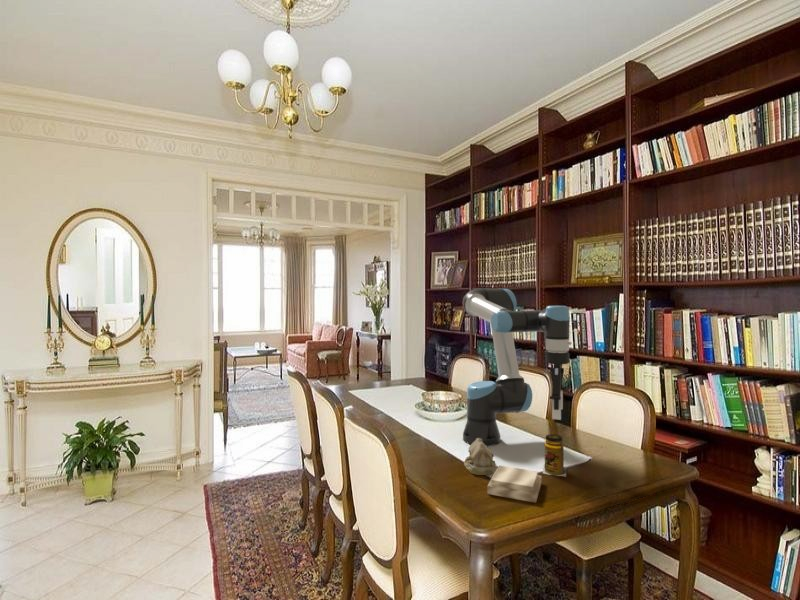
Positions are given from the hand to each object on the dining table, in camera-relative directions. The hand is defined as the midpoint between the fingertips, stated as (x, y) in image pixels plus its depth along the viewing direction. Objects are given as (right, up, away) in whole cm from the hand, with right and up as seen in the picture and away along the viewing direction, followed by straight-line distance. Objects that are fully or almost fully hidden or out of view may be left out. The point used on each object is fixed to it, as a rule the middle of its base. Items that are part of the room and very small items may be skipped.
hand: (557, 413), depth 148 cm
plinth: (-18, -19, -14) cm, 30 cm away
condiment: (-1, -19, -1) cm, 19 cm away
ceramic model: (-26, -20, +3) cm, 32 cm away
